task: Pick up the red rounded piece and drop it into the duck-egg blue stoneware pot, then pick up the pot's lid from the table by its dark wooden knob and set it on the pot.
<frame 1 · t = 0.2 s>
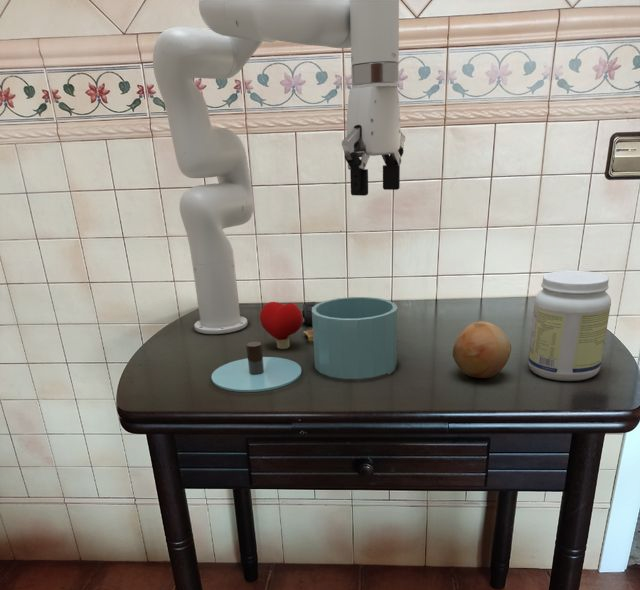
hand: (375, 192, 103), 31 cm above the table, tool pointing down, fingers open, 9 cm apart
pot: (355, 366, 115), on the table
supplement tub: (562, 371, 108), on the table
onion: (479, 377, 107), on the table
lid: (256, 374, 111), point 1 cm above the table
flashlight: (336, 323, 142), on the table
red rounded piece: (283, 351, 125), on the table
shard: (330, 340, 130), on the table
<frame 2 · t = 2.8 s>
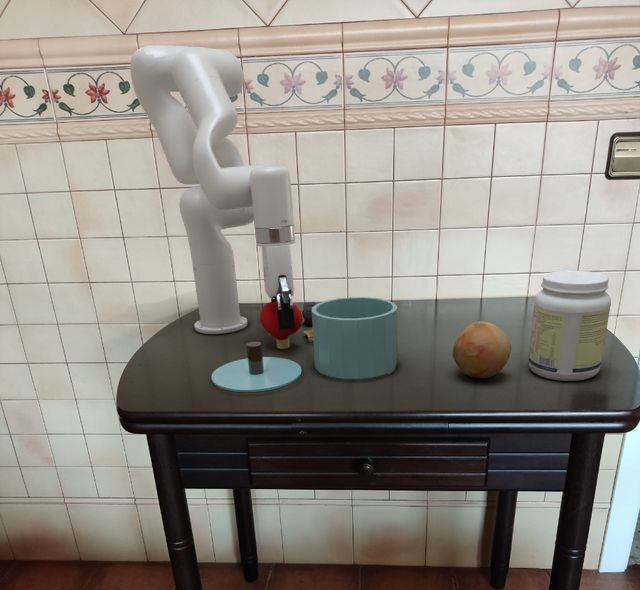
hand: (283, 322, 122), 6 cm above the table, tool pointing down, fingers open, 9 cm apart
nothing on the table moved.
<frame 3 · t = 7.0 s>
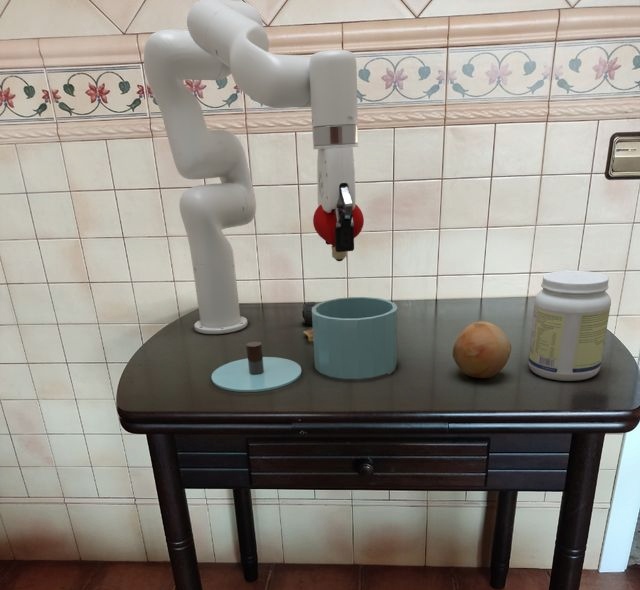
hand: (339, 246, 106), 22 cm above the table, tool pointing down, fingers closed on red rounded piece, 7 cm apart
red rounded piece: (339, 262, 108), point 19 cm above the table, touching gripper
everything else where it was.
when the fingers open (11 cm above the table, at t = 10.6 s): red rounded piece drops 8 cm, resting on pot.
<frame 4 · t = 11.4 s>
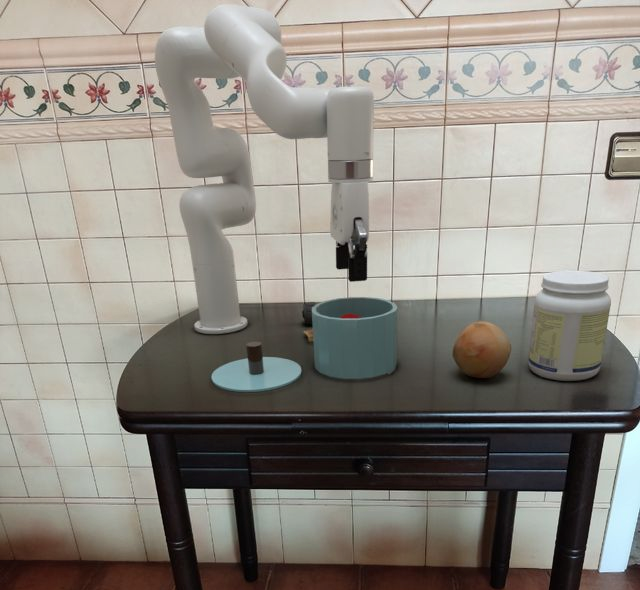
hand: (350, 274, 107), 17 cm above the table, tool pointing down, fingers open, 9 cm apart
red rounded piece: (354, 362, 114), point 1 cm above the table, touching pot
everything else where it was.
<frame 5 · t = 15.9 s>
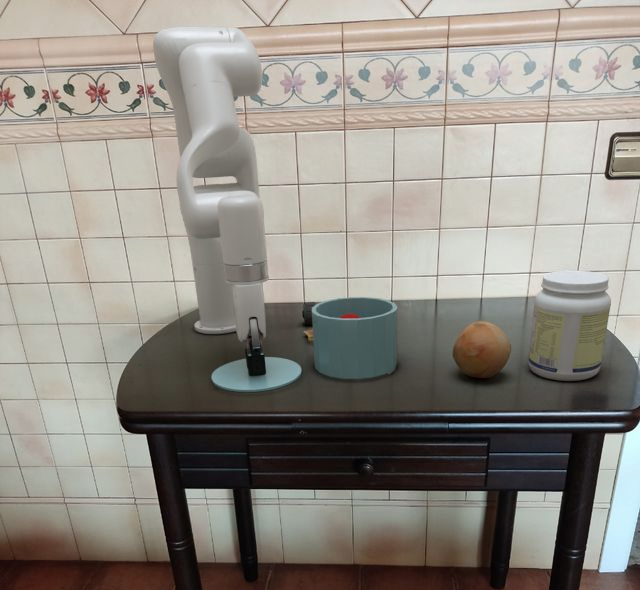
hand: (256, 370, 111), 1 cm above the table, tool pointing down, fingers closed on lid, 2 cm apart
lid: (256, 374, 111), point 1 cm above the table, touching gripper
everything else where it was.
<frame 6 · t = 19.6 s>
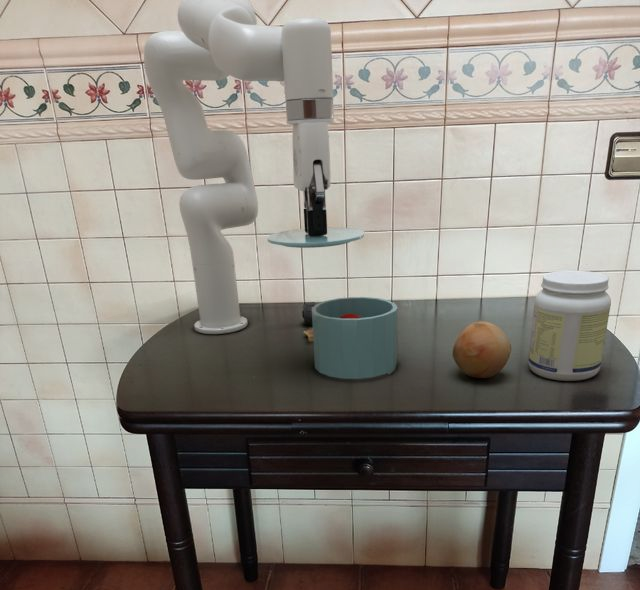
hand: (315, 232, 102), 25 cm above the table, tool pointing down, fingers closed on lid, 2 cm apart
lid: (316, 237, 103), point 24 cm above the table, touching gripper
everything else where it was.
when the fingers open (13 cm above the table, at t = 23.2 s): lid stays where it is, resting on red rounded piece, pot.
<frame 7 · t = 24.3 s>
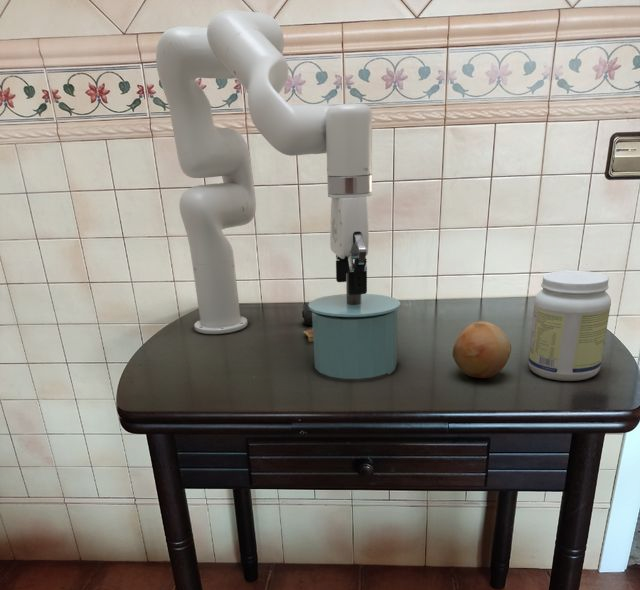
hand: (351, 287, 109), 15 cm above the table, tool pointing down, fingers open, 9 cm apart
lid: (354, 305, 109), point 12 cm above the table, touching red rounded piece, pot
red rounded piece: (354, 362, 114), point 1 cm above the table, touching lid, pot
everything else where it was.
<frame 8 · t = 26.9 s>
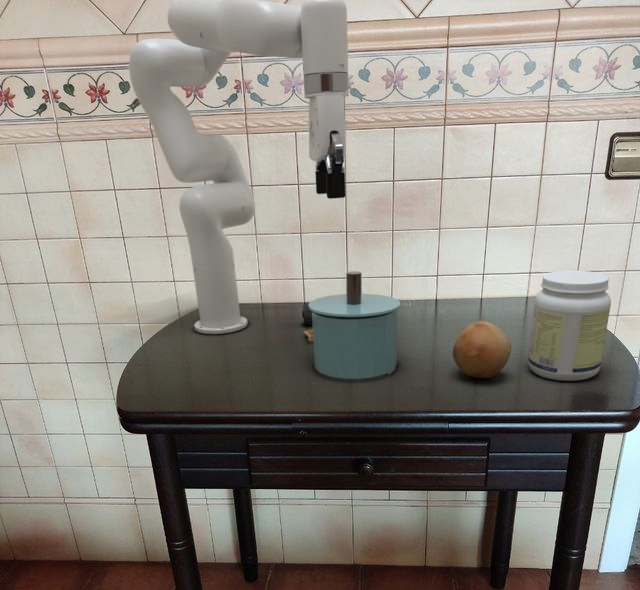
hand: (330, 195, 108), 30 cm above the table, tool pointing down, fingers open, 9 cm apart
nothing on the table moved.
at the end: red rounded piece inside the target area in the pot (0.3 cm from its centre), point 0.9 cm above the pot's base; lid 0.0 cm off-centre on the pot, point 11.8 cm above the pot's base; lid tilted 2° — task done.
